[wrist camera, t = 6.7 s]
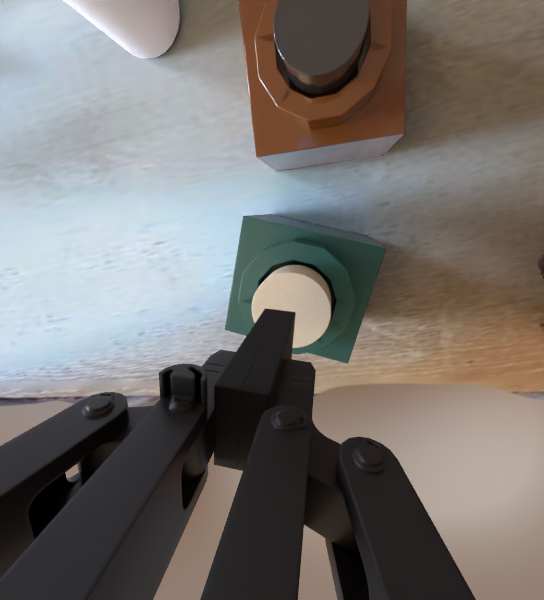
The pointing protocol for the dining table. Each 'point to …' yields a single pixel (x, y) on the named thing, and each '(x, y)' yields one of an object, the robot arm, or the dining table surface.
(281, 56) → the dark gray button
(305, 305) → the beige cylinder
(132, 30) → the white bottle
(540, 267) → the brown jagged looped figure
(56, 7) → the dining table surface
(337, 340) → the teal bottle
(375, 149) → the brown push button box
